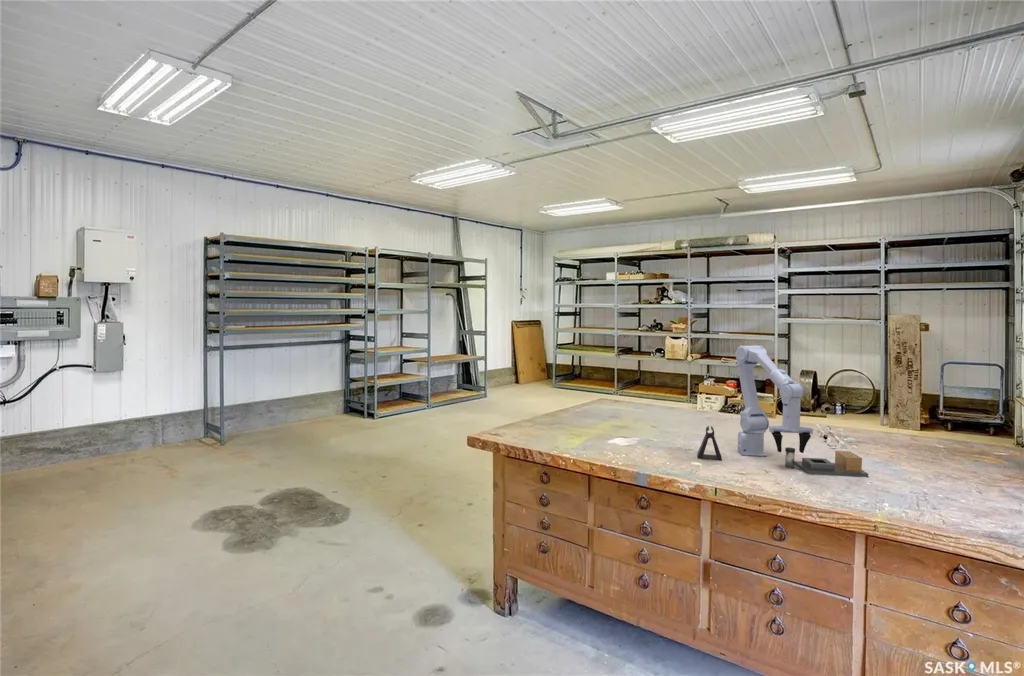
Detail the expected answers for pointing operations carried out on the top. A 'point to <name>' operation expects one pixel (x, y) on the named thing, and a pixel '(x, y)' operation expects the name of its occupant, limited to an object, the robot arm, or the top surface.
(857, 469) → the square socket plate
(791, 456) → the shiny metal cylinder
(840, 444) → the miniature set
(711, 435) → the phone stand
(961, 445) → the top surface
